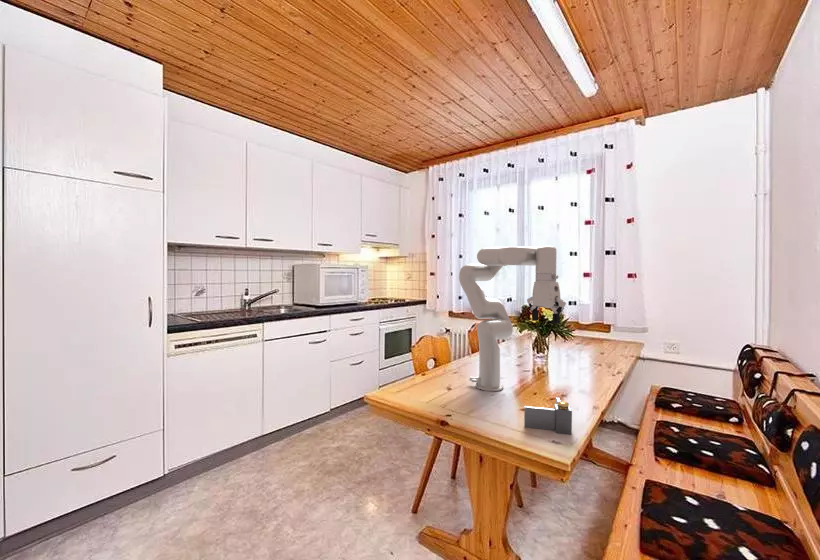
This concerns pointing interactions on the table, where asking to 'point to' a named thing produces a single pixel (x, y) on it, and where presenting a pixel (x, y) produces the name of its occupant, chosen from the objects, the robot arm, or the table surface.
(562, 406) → the hinge pin
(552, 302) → the robot arm
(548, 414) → the hinge bracket
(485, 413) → the table surface
